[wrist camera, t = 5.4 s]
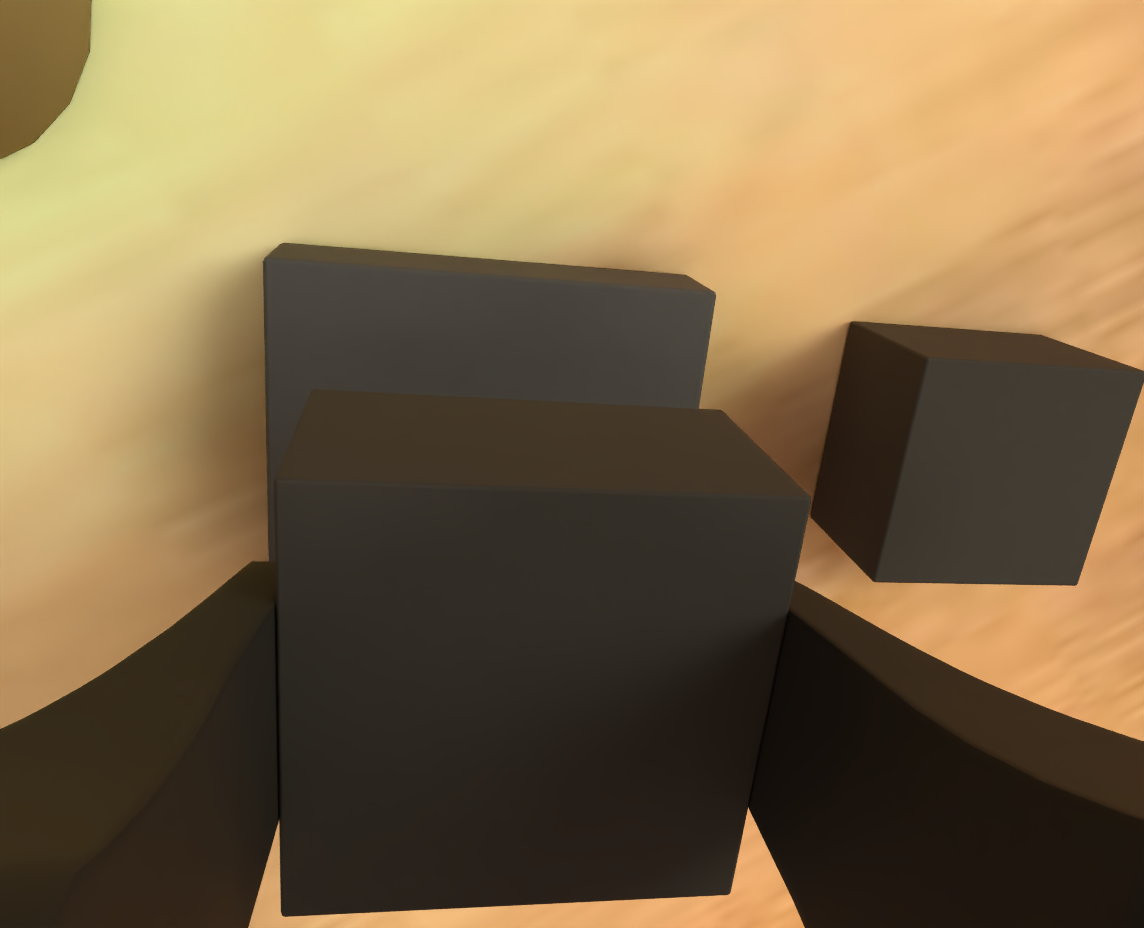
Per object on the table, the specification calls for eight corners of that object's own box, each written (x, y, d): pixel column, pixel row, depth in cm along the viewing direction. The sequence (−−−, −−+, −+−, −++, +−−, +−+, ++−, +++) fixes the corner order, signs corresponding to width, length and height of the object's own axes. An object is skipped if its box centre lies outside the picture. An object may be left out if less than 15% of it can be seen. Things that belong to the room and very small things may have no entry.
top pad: (988, 522, 22) (1077, 586, 19) (808, 517, 21) (872, 583, 18) (1041, 334, 20) (1148, 371, 17) (849, 320, 19) (927, 357, 16)
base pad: (639, 618, 21) (659, 666, 19) (284, 614, 20) (269, 666, 18) (688, 274, 18) (718, 292, 16) (279, 242, 17) (262, 257, 15)
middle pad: (669, 738, 15) (731, 896, 12) (311, 745, 14) (280, 918, 11) (722, 408, 13) (813, 497, 10) (310, 387, 12) (273, 479, 9)
